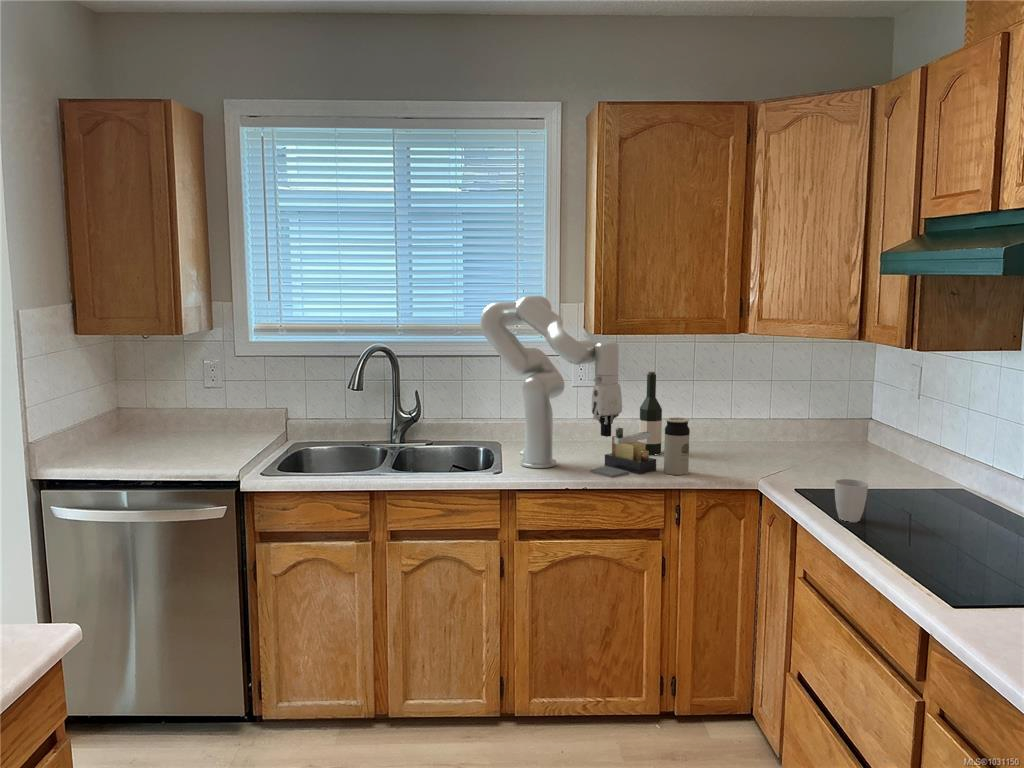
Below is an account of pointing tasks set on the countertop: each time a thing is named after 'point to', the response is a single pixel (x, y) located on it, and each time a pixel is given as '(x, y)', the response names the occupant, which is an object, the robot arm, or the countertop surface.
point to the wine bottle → (651, 417)
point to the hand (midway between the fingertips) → (605, 435)
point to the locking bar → (630, 436)
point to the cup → (850, 499)
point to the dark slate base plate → (631, 462)
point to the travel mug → (676, 446)
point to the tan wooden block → (630, 450)
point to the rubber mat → (609, 471)
